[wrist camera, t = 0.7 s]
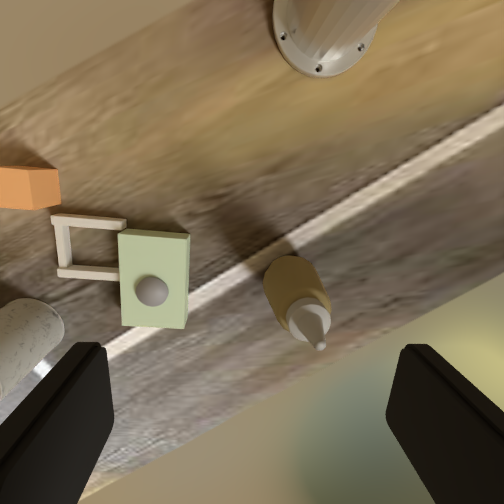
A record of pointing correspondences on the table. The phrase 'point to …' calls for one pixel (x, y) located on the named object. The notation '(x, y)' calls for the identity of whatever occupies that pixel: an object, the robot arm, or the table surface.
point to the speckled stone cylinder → (25, 338)
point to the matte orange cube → (29, 187)
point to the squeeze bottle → (298, 299)
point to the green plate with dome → (136, 269)
